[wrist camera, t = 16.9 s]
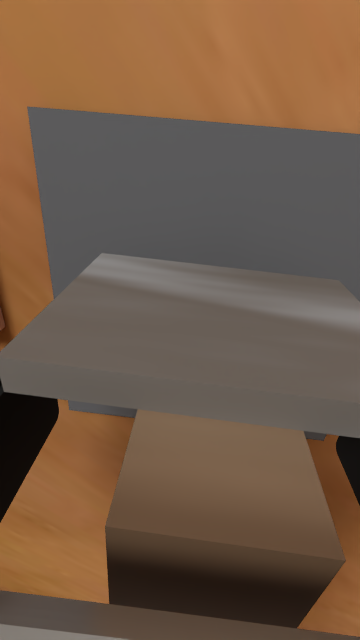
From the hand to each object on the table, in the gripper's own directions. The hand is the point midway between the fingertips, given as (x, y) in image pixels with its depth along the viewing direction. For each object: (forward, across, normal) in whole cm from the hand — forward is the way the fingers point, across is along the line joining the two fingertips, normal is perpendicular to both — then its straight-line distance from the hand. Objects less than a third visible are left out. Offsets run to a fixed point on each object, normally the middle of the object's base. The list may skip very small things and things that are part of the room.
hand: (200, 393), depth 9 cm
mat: (+5, 0, 0) cm, 5 cm away
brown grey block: (+5, 0, 0) cm, 5 cm away
